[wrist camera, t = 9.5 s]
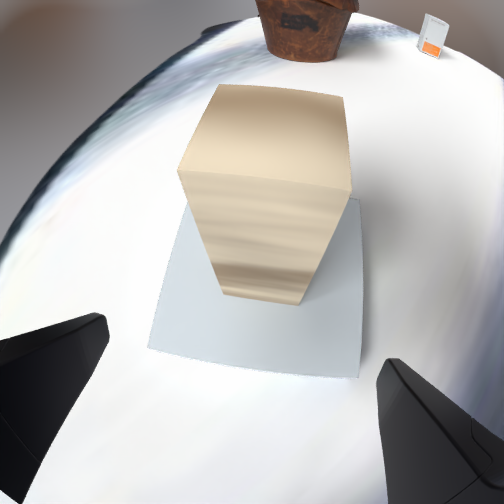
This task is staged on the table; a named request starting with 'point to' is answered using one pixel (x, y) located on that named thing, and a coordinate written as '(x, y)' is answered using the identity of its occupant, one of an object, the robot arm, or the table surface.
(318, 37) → the brown flower pot
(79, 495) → the table surface
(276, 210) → the birch block
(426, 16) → the skincare box
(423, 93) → the table surface
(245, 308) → the grey-blue block
